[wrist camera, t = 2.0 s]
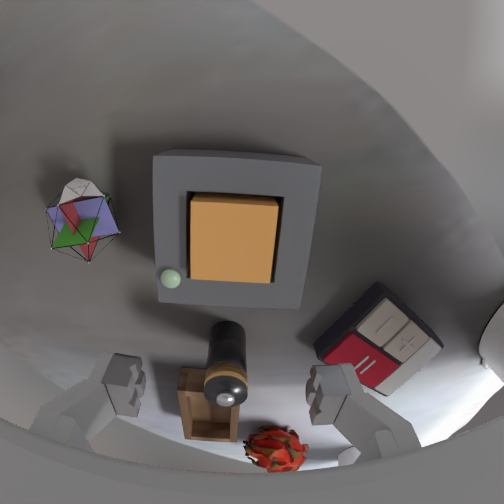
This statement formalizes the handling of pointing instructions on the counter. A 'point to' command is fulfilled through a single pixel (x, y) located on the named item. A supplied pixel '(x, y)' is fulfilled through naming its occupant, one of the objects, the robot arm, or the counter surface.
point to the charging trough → (204, 410)
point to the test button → (232, 237)
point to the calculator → (379, 341)
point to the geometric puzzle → (82, 217)
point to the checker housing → (233, 182)
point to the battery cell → (226, 365)
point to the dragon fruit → (276, 450)
